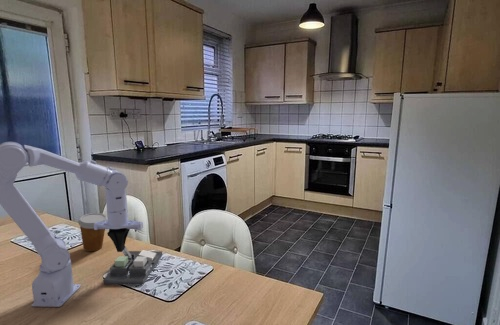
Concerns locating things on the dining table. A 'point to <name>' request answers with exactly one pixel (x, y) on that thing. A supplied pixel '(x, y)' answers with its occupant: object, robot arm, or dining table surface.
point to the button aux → (140, 261)
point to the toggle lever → (126, 252)
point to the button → (121, 261)
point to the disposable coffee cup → (92, 231)
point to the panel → (132, 271)
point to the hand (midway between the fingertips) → (120, 250)
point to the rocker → (147, 254)
